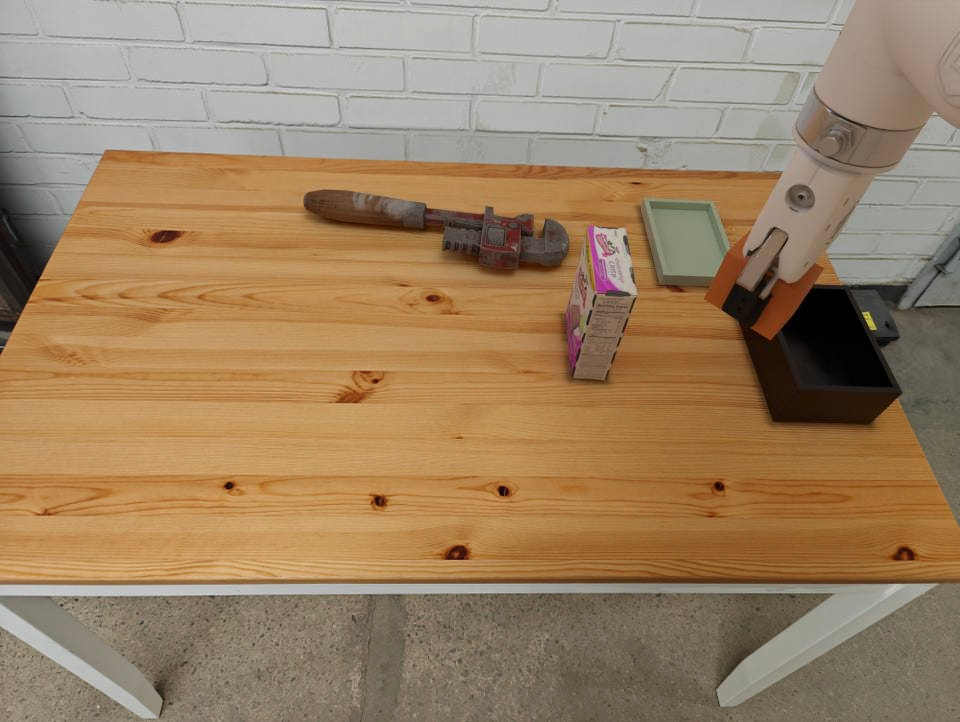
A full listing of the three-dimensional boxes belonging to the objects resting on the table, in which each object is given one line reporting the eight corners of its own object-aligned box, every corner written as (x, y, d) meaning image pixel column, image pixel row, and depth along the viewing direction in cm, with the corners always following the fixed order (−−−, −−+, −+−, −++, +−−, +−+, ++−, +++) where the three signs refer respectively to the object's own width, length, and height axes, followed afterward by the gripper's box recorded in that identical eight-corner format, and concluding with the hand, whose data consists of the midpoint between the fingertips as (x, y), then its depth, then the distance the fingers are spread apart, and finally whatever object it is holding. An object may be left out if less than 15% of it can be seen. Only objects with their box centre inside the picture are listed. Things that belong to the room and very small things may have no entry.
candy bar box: (562, 315, 87) (585, 223, 74) (598, 317, 87) (627, 225, 74) (568, 381, 80) (595, 292, 67) (607, 382, 81) (641, 294, 68)
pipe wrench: (567, 228, 99) (573, 202, 95) (567, 284, 91) (573, 258, 87) (312, 201, 99) (306, 175, 95) (290, 255, 91) (284, 228, 87)
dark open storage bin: (870, 424, 79) (903, 392, 74) (772, 421, 78) (798, 389, 73) (822, 319, 90) (848, 285, 84) (736, 316, 89) (757, 281, 84)
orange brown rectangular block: (793, 314, 58) (824, 268, 54) (770, 340, 56) (801, 294, 52) (727, 275, 61) (752, 228, 56) (703, 299, 59) (727, 251, 54)
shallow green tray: (736, 287, 93) (742, 277, 91) (659, 284, 92) (663, 274, 90) (709, 211, 103) (713, 200, 102) (640, 207, 103) (643, 197, 101)
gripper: (858, 201, 38) (742, 377, 53) (950, 104, 46) (827, 279, 61) (749, 147, 41) (667, 328, 56) (853, 64, 49) (758, 241, 64)
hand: (752, 301), depth 58 cm, fingers closed on orange brown rectangular block, 4 cm apart
